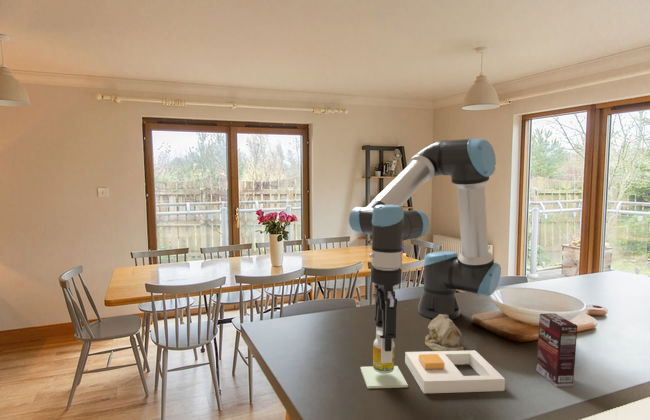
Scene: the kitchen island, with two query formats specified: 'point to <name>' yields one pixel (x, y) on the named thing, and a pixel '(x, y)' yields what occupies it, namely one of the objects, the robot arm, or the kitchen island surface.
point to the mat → (383, 378)
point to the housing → (455, 373)
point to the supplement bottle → (377, 363)
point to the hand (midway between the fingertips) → (383, 356)
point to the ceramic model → (443, 335)
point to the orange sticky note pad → (431, 361)
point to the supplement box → (556, 349)
